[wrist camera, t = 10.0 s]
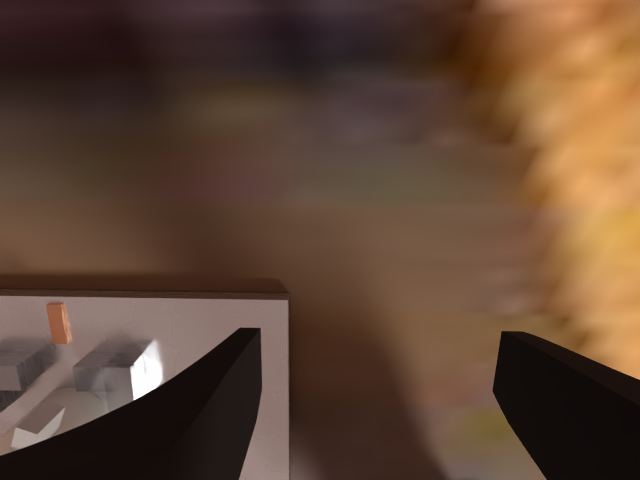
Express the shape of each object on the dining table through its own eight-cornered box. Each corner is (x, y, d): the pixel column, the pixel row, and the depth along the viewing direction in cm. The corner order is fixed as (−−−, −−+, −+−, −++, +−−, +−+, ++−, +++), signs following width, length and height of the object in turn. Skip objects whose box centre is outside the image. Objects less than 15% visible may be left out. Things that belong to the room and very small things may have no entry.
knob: (102, 457, 22) (35, 550, 17) (32, 435, 21) (-58, 523, 16) (126, 383, 21) (62, 459, 15) (53, 357, 20) (-38, 426, 15)
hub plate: (290, 508, 24) (287, 548, 22) (30, 505, 24) (-3, 545, 22) (289, 293, 20) (285, 311, 18) (-19, 288, 20) (-65, 306, 18)
